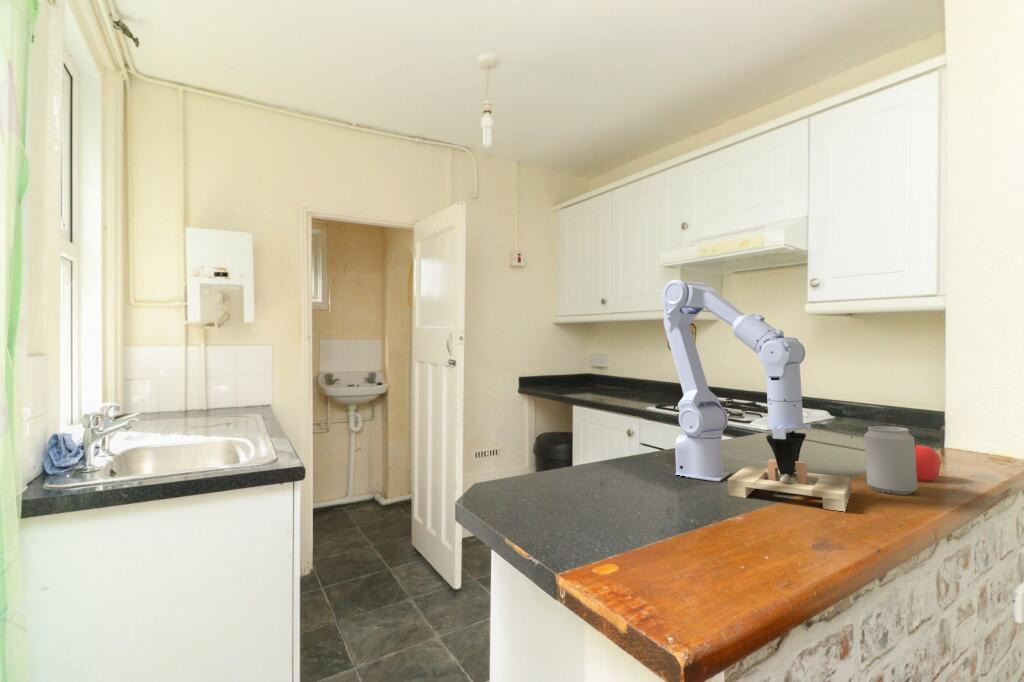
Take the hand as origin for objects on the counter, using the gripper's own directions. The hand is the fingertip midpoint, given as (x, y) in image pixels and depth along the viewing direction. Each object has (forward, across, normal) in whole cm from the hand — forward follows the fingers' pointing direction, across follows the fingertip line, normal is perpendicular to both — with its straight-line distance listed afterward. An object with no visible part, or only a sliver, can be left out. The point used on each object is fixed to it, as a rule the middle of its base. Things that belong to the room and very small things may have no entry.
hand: (788, 472), depth 88 cm
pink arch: (+3, 0, 0) cm, 3 cm away
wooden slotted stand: (+4, 0, 0) cm, 4 cm away
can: (+4, +14, -15) cm, 21 cm away
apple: (+4, +28, -19) cm, 34 cm away
